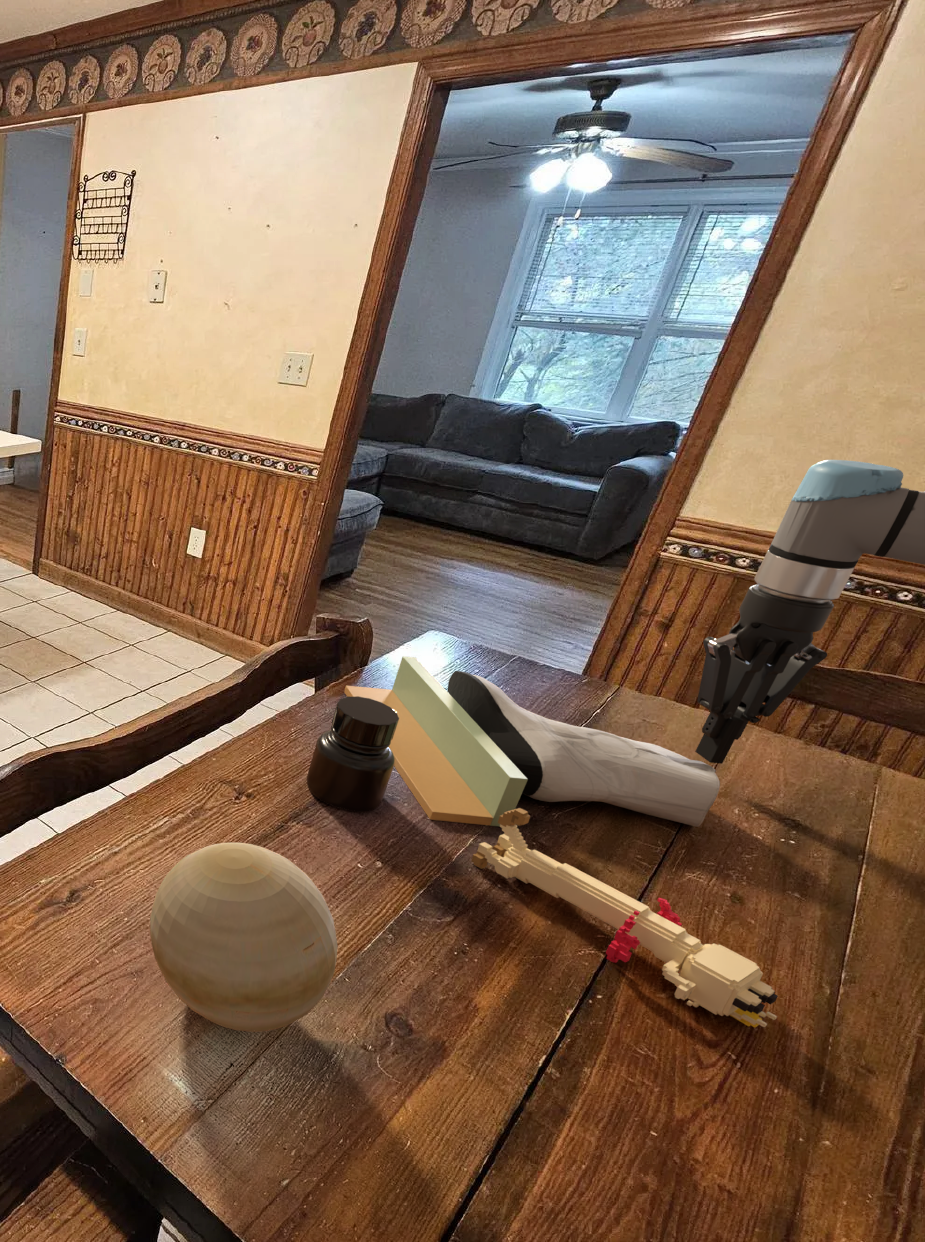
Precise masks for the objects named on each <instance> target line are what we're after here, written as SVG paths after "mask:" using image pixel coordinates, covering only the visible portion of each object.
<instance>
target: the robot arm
mask: <svg viewBox="0 0 925 1242" xmlns="http://www.w3.org/2000/svg"><path fill="white" fill-rule="evenodd" d="M903 479H904V472H903V471H902V470H901V469H899V468H897V467H893V466H888V465H883V464H875V463H871V462H866V461H865V462H864V461H858V460H845V459H825V460H821V461H818V462H816V463H815V464H813V465H811V466H810V467H809V468H808V470H807V471H806V473H805V475H804V477H803V479H802V481H801V482H800V484H799V485H798V487H797V489H796V491H795V493H794V494H793V496H792V498H791V500H790V502H789V504H788V506H787V509H786V511H785V513H784V515H783V517H782V520H781V522H780V524H779V526H778V528H777V531H776V533H775V534H774V537H773V539H772V541H771V543H770V546H769V548H768V550H766V551H767V552H766V553H765V555H764V557H763V559H762V561H761V564H760V566H759V568H758V569H757V571H756V574H755V576H754V578H753V580H754V582H755V583H756V584H754V585H751V586H750V587H749V588H748V590H747V592H746V593H745V596H744V598H743V600H742V602H741V603H740V606H739V609H738V611H739V617H740V618H739V620H738V621H737V622H736V623H735V624H734V625H733V626H732V627H731V628H730V629H729V632H728V634H725V635H723V636H721V637H719V638H714V637H713V636H707V637H705V638H704V639H703V641H702V644H703V647H704V651H705V657H704V663H703V668H702V674H701V678H700V683H699V689H698V695H697V704H699V705H700V706H702V707H703V708H705V709H706V710H708V711H709V714H708V715H707V717H706V720H705V722H704V724H703V726H702V727H701V733H702V734H703V735H702V737H701V738H700V741H699V743H698V744H697V746H696V749H695V751H694V752H695V753H696V754H697V755H699V756H700V757H702V758H703V759H705V761H707V762H708V763H710V764H721V765H723V763H724V761H725V759H726V757H727V755H728V754H729V751H730V750H731V749H732V746H733V744H734V742H735V740H739V739H740V738H741V737H742V735H743V733H744V731H745V730H746V728H747V725H748V724H749V722H750V723H751V724H756V723H758V722H760V721H761V718H759V716H760V717H761V716H763V717H766V718H768V717H770V716H772V715H773V714H774V713H775V711H777V709H778V708H779V707H780V706H781V704H782V703H783V702H784V701H785V700H786V698H787V697H788V696H790V695H791V693H792V692H793V690H794V689H795V688H796V686H798V684H799V683H801V681H802V680H803V679H804V677H805V676H806V675H807V674H808V673H809V672H810V670H811V669H813V668H814V667H815V666H817V665H818V664H820V663H821V662H823V661H824V660H825V659H826V658H827V657H828V652H826V651H825V650H822V649H821V648H819V647H817V646H815V644H813V643H812V642H813V641H814V633H816V632H819V631H821V630H822V629H823V628H824V625H825V624H826V622H827V620H828V618H829V616H830V614H831V613H832V612H833V609H834V607H835V604H834V603H833V600H836V599H839V598H840V596H841V595H842V593H843V591H844V589H845V587H846V585H847V583H848V581H849V579H850V577H851V575H852V574H853V572H854V570H855V568H856V566H857V564H858V562H859V559H860V558H861V557H862V555H863V554H866V555H871V556H874V557H879V558H888V559H892V560H898V561H903V562H908V563H914V564H919V565H923V566H925V491H919V490H915V489H910V488H906V487H902V486H903V483H902V482H903Z"/></svg>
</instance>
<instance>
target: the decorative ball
mask: <svg viewBox="0 0 925 1242" xmlns="http://www.w3.org/2000/svg"><path fill="white" fill-rule="evenodd" d="M149 935H150V942H151V947H152V951H153V955H154V959H155V961H156V963H157V966H158V968H159V971H160V972H161V974H162V976H163V978H164V980H165V981H166V983H167V985H169V987H170V989H171V990H172V991H173V992H174V994H175V995H176V996H177V998H179V999H180V1000H181V1002H182V1003H183V1004H185V1005H186V1006H187V1007H188V1009H190V1010H191V1011H193V1012H195V1014H198V1015H199V1016H201V1017H203V1018H205V1019H206V1020H207V1021H210V1022H211V1023H213V1024H216V1025H218V1026H220V1027H223V1028H225V1029H226V1028H227V1029H230V1030H234V1031H238V1032H248V1033H260V1032H261V1033H262V1032H263V1033H264V1032H269V1031H274V1030H279V1029H281V1028H284V1027H287V1026H289V1025H291V1024H293V1023H296V1022H297V1021H298V1020H300V1019H302V1018H303V1017H305V1016H306V1015H308V1014H309V1013H310V1012H311V1011H312V1010H313V1009H314V1008H315V1007H316V1006H317V1005H318V1003H320V1001H321V1000H322V998H323V997H324V996H325V994H326V992H327V990H328V989H329V987H330V985H331V982H332V979H333V977H334V974H335V971H336V964H337V960H338V959H337V957H338V947H339V946H338V938H337V931H336V927H335V920H334V917H333V915H332V913H331V910H330V908H329V906H328V904H327V901H326V899H325V897H324V895H323V893H322V892H321V891H320V890H319V888H318V887H317V885H316V884H315V883H314V881H313V880H312V879H311V878H310V876H309V875H308V874H307V873H306V872H304V871H303V870H302V869H301V868H300V867H299V866H297V865H296V863H294V862H293V861H291V860H290V859H289V858H287V857H285V856H283V855H282V854H280V853H277V852H275V851H273V850H270V849H268V848H266V847H263V846H260V845H256V844H252V843H247V842H246V843H245V842H231V841H230V842H220V843H214V844H211V845H207V846H204V847H202V848H200V849H197V850H196V851H194V852H192V853H189V854H187V855H185V856H184V857H183V858H181V859H180V860H179V861H178V862H177V863H176V864H175V865H174V866H173V867H172V868H171V869H170V870H169V872H167V873H166V874H165V876H164V878H163V879H162V882H161V884H160V885H159V887H158V889H157V891H156V893H155V895H154V899H153V903H152V907H151V911H150V918H149Z"/></svg>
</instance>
